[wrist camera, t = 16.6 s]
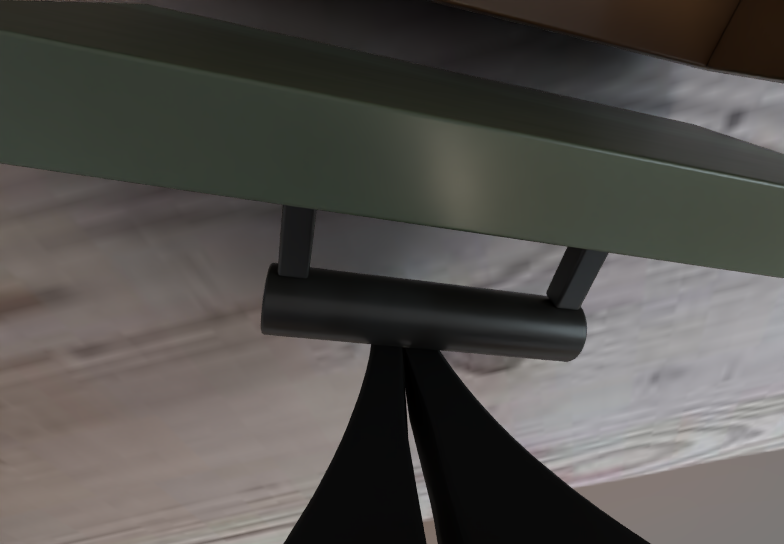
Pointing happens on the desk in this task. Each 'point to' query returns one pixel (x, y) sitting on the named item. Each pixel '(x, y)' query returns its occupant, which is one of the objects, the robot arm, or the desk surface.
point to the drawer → (408, 153)
